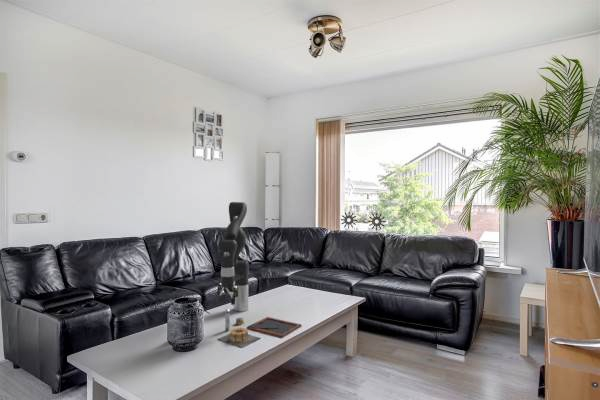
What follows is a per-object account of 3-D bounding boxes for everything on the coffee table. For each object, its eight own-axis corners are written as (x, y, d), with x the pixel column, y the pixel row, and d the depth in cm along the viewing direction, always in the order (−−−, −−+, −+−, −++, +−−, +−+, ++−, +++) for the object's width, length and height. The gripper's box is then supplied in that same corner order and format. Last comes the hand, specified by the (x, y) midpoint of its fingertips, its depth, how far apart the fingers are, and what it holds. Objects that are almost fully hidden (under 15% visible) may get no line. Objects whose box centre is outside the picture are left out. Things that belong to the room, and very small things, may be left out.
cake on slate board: (217, 339, 185) (217, 331, 185) (236, 331, 196) (236, 323, 196) (242, 347, 175) (242, 339, 175) (260, 338, 186) (260, 330, 186)
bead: (234, 324, 208) (234, 319, 208) (239, 322, 212) (239, 317, 212) (239, 325, 206) (239, 320, 206) (245, 323, 209) (245, 318, 209)
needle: (224, 330, 197) (224, 309, 197) (227, 329, 199) (227, 308, 199) (227, 331, 196) (227, 310, 196) (230, 330, 198) (230, 309, 198)
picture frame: (246, 329, 201) (282, 339, 187) (246, 326, 201) (282, 335, 187) (267, 319, 218) (301, 327, 204) (267, 316, 218) (301, 324, 204)
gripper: (214, 274, 199) (213, 302, 198) (231, 277, 191) (231, 307, 190) (223, 272, 205) (223, 299, 205) (241, 275, 197) (241, 303, 197)
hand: (227, 303), depth 198 cm, fingers open, 8 cm apart
